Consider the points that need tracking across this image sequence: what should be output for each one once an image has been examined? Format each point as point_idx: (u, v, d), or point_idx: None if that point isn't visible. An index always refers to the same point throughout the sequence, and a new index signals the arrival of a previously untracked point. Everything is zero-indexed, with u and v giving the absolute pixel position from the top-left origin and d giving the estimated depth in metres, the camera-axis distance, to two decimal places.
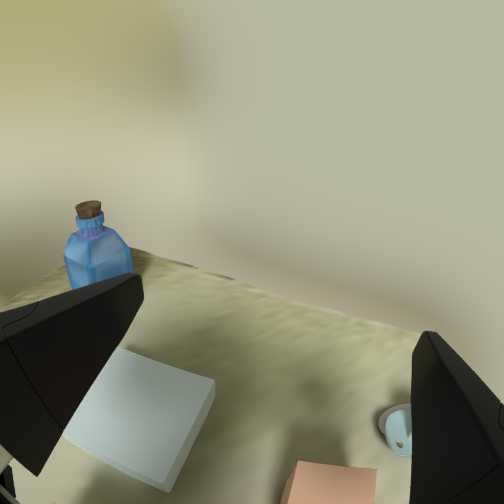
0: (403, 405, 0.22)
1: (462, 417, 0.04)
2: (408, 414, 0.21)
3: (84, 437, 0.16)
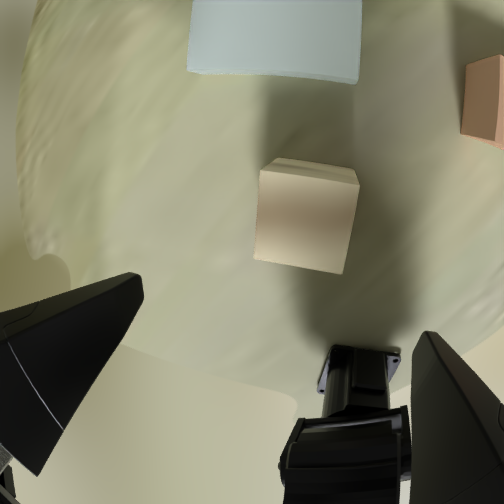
0: None
1: (462, 417, 0.04)
2: None
3: (240, 62, 0.15)
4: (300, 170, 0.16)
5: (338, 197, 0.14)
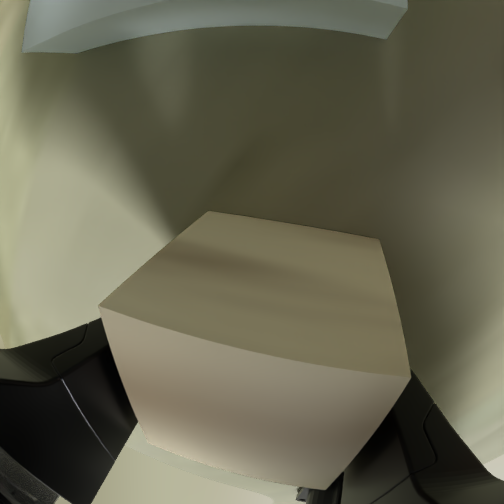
0: None
1: None
2: None
3: (96, 6, 0.04)
4: (228, 288, 0.05)
5: (333, 402, 0.04)
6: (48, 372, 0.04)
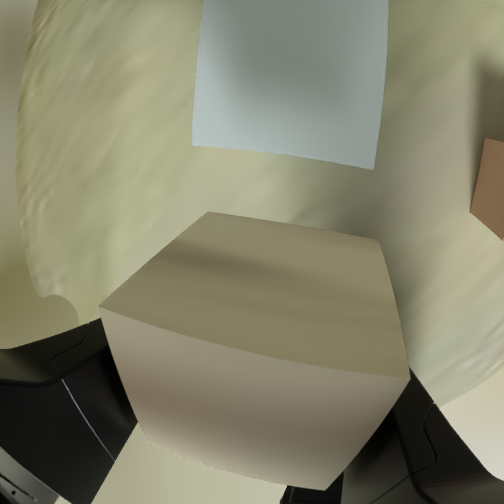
0: None
1: None
2: None
3: (249, 142, 0.15)
4: (228, 289, 0.05)
5: (333, 403, 0.04)
6: (48, 373, 0.04)
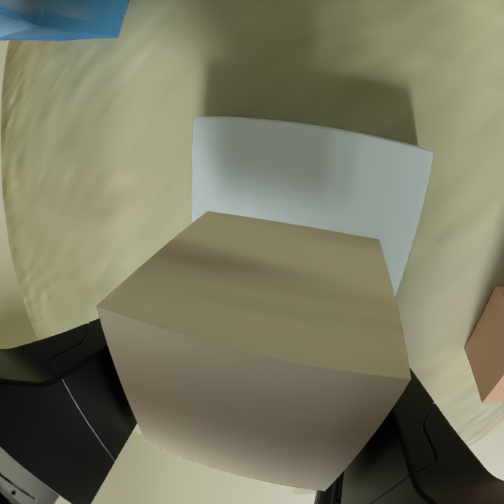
0: None
1: None
2: None
3: None
4: (227, 289, 0.05)
5: (332, 403, 0.04)
6: (48, 372, 0.04)
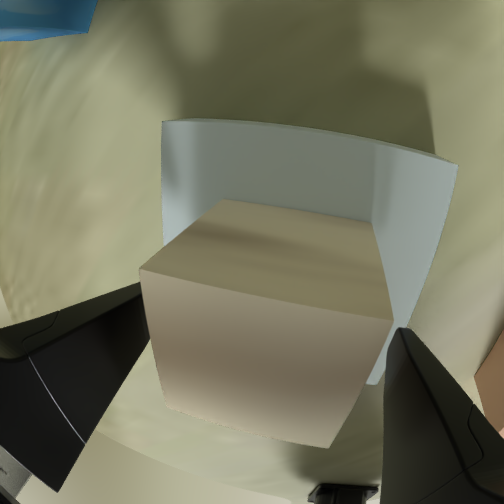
0: None
1: (429, 417, 0.04)
2: None
3: None
4: (246, 255, 0.07)
5: (332, 344, 0.05)
6: (18, 351, 0.04)
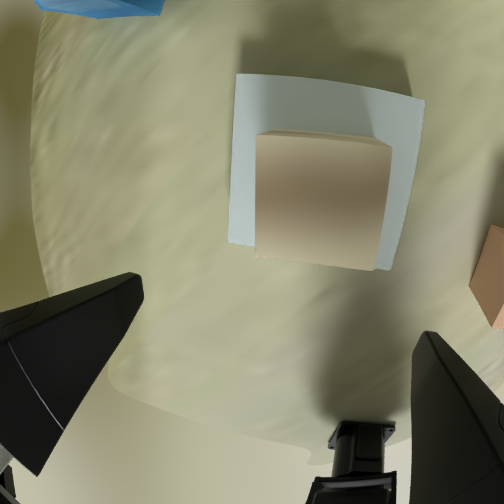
0: None
1: (462, 417, 0.04)
2: None
3: None
4: (310, 135, 0.11)
5: (365, 165, 0.10)
6: None
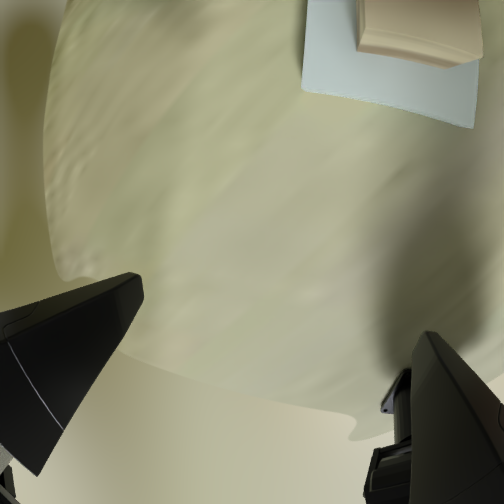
0: None
1: (462, 417, 0.04)
2: None
3: (365, 90, 0.13)
4: None
5: None
6: None
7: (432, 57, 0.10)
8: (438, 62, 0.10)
